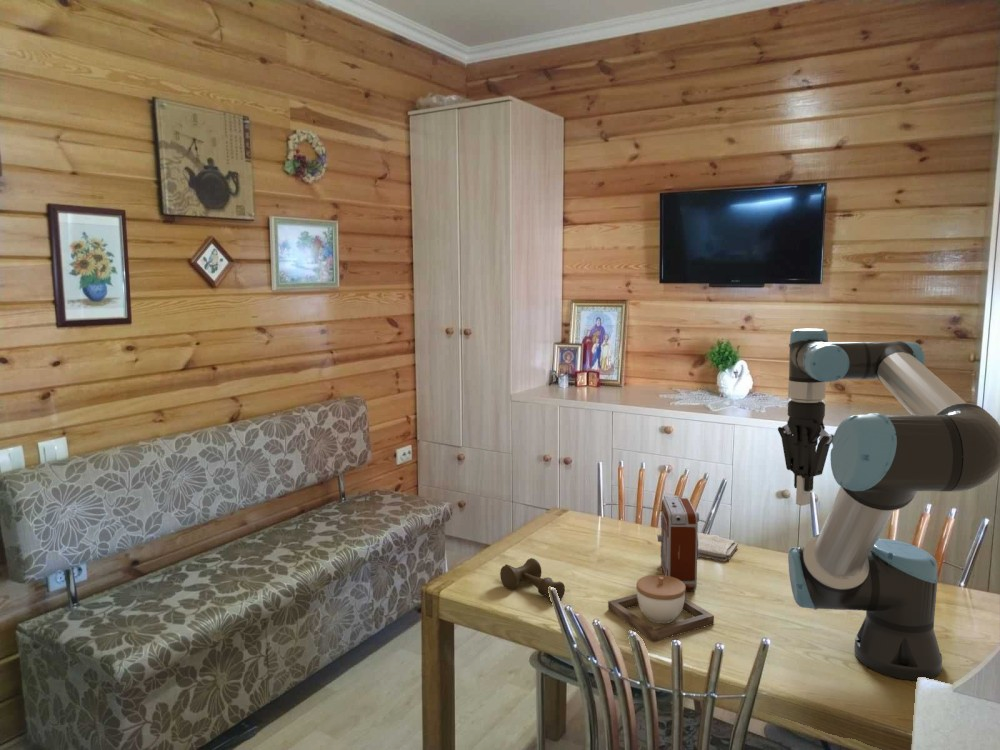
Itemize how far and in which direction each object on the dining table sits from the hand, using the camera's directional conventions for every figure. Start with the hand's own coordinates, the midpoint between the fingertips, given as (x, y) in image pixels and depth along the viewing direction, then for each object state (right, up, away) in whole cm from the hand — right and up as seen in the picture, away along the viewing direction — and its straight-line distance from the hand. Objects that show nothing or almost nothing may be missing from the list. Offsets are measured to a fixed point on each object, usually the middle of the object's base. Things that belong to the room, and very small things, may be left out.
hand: (802, 503), depth 160 cm
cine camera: (-23, -23, +22) cm, 39 cm away
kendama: (-60, -24, +17) cm, 67 cm away
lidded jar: (-32, -26, +1) cm, 41 cm away
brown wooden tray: (-32, -26, +1) cm, 41 cm away
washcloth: (-12, -20, +39) cm, 46 cm away
